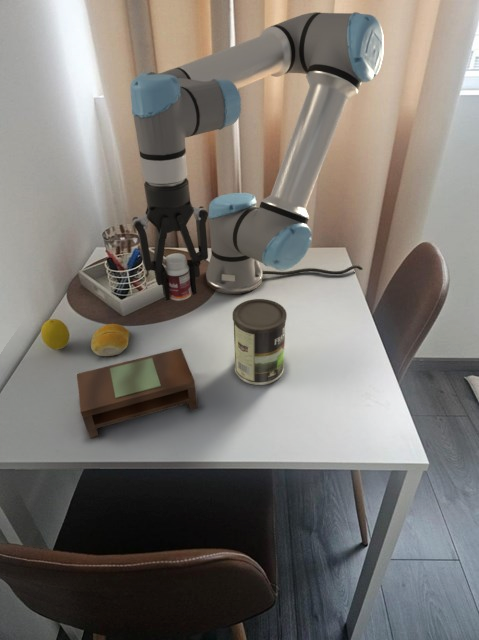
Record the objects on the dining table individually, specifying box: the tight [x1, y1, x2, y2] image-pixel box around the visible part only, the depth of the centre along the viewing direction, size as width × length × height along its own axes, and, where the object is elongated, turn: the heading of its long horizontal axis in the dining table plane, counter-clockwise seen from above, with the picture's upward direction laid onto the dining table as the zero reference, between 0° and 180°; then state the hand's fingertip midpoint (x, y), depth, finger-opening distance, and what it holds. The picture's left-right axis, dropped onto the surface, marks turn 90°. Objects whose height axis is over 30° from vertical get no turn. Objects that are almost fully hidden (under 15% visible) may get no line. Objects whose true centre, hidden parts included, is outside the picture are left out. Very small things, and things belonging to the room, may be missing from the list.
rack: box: [76, 347, 198, 439], centre depth 83 cm, size 20×10×7 cm, turn 110°
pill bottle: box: [164, 252, 193, 302], centre depth 87 cm, size 5×5×8 cm
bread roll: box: [90, 323, 130, 357], centre depth 99 cm, size 8×9×4 cm
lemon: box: [40, 318, 70, 350], centre depth 97 cm, size 6×6×8 cm
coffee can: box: [232, 298, 287, 386], centre depth 89 cm, size 10×10×14 cm
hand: (180, 293), depth 89 cm, fingers closed on pill bottle, 5 cm apart
